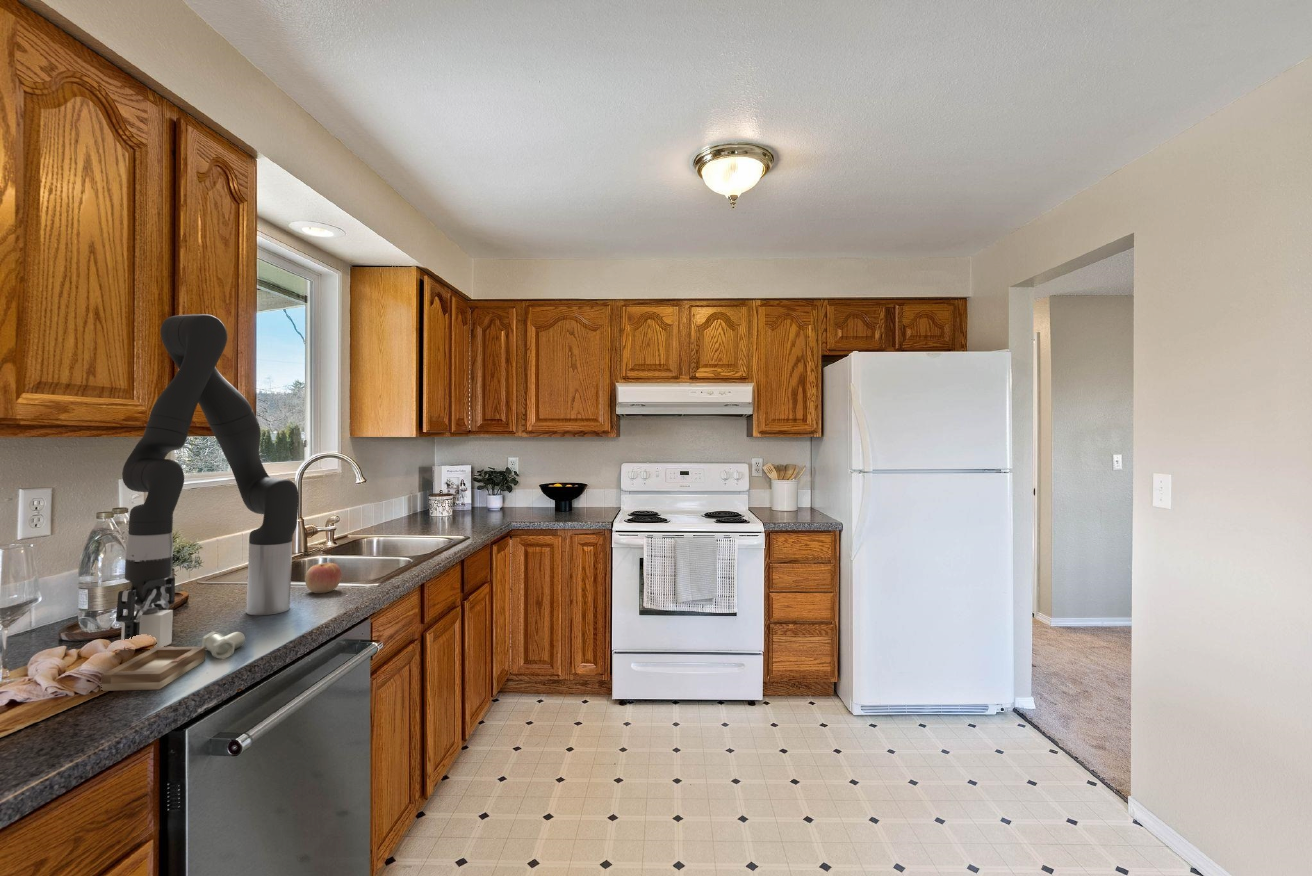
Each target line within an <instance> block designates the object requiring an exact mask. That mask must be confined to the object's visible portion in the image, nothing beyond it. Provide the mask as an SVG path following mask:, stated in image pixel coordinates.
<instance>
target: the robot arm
mask: <svg viewBox="0 0 1312 876" xmlns="http://www.w3.org/2000/svg"><path fill="white" fill-rule="evenodd" d="M160 338H161V341H162V345H163V346H164V348H165V349H166V352H167V353H168V355H169V356H170V358H171V359H172V361H173V362H174V364H175V366H177V368H178V371H177V372H176V374H175V375H174V377H173V379H172V380H171V381H170V382H169V384H168V385H167V386H166V387H165V388H164V390H163V391H162V393H160V395H159V396H158V398H156V401H155V402H154V404H153V406H152V408H151V411H150V414H149V417H148V419H147V423H146V427H145V430H144V434H143V436H142V437H141V438H140V440H139V441H138V442H137V444H136V445H135V447H134V448H133V450H132V452H131V453H130V455H129V456H128V457H127V459H126V460H125V463H124V465H123V467H122V472H121V473H122V474H121V475H122V477H121V478H122V481H123V484H124V486H125V487H126V488H127V489H129V490H130V491H134V492H139V493H147V495H146V498H145V500H144V503H143V504H138V505H135V506H133V507H131V509H130V511H129V517H128V535H127V540H126V546H125V562H124V563H125V564H124V580H125V581H128V582H130V583H131V585H130V589H128V590H119V591H118V593H117V602H116V603H117V604H116V612H115V613H116V614H115V622H116V623H122V622H124V623H125V633H124V640H125V639H129V638H130V637H131V639H132V637H133V636H136V635H139V629H140V622H139V620H140V618H141V616H142V613H143V612H145V611H146V610H147V609H148V607H158V610H170V609H169V608H170V606H171V605H174V604H175V602H176V601H175V600H176V599H175V597H176V593H175V592H176V588H175V587H176V577H175V576H172V574H173V556H174V555H173V554H174V539H173V526H174V524H173V523H174V522H173V521H174V512H175V509H176V507H177V505H178V501H179V499H180V496H181V493H182V490H183V488H184V485H185V484H184V483H185V473H184V470H183V468H182V466H181V465H180V463H179V462H177V461H176V460H173V459H167V458H166V457H167V456H168V454H169V453H170V452H172V451H175V450H180V449H181V448H183V447H184V446H185V443H186V442H187V441H186V440H187V437H188V434H189V431H190V427H191V425H192V421H193V418H194V414H195V411H196V408H197V406H198V405H199V406H200V409H201V411H202V412H203V415H204V417H205V420H206V421H207V423H208V425H209V428H210V430H211V432H212V433H213V435H214V438H215V440H216V441H217V442H218V444H219V446H220V448H221V451H222V453H223V455H224V456H225V459H226V461H227V464H228V465H229V467H230V469H231V471H232V474H233V477H234V480H235V482H236V485H237V488H238V491H239V494H240V497H241V499H242V501H243V504H244V505H245V507H246V508H247V509H248V510H250V512H252V513H255V514H257V515H258V514H259V515H263V520H262V524H261V526H260V527H258V528H256V529H253V530H251V531H250V533H249V535H248V536H249V537H248V559H247V561H248V563H247V584H246V585H247V588H246V592H247V593H246V614H248V615H250V616H267V615H268V616H269V615H277V614H280V613H284V612H287V611H289V610H290V609H291V608H290V606H291V589H292V587H291V584H292V583H291V582H292V578H291V577H292V563H293V562H292V559H293V558H292V557H293V536H294V533H295V532H296V529H297V524H298V515H299V504H300V496H299V494H300V493H299V489H298V486H297V484H295V482H294V481H292V480H290V479H286V478H279V477H278V478H277V477H276V478H275V477H270V476H269V474H268V472H267V471H266V469H265V467H264V465H263V462H262V461H261V457H260V443H261V435H262V434H261V426H260V423H259V421H258V418H257V417H256V414H255V411H254V410H253V407H252V405H251V404H250V403H249V401H248V400H247V398H246V397H245V396H244V395H243V394H242V393H241V392H240V391H239V390H238V389H237V388H236V387H235V386H234V385H232V384H231V383H230V382H229V381H228V380H227V379H226V378H225V377H224V376H223V375H222V374H221V373H220V372H219V369H218V368H217V367H216V366H217V364H218V362H219V360H220V358H221V356H222V355H223V353H224V351H225V348H226V346H227V342H228V331H227V328H226V326H225V325H224V323H223V322H222V321H221V320H220V319H219V318H218V317H216V316H214V315H211V314H207V313H206V314H204V313H201V314H200V313H199V314H179V315H173V316H169V317H167V318H166V319H165V320H164V321H163V322H162V324H161V326H160ZM167 594H168V595H167ZM124 610H125V613H124ZM134 612H136V614H135V616H134Z"/></svg>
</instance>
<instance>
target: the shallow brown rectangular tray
mask: <svg viewBox="0 0 1312 876" xmlns="http://www.w3.org/2000/svg"><path fill="white" fill-rule="evenodd" d="M205 648H206V647H202V646H165V647H154V648H152V649H150V650H145V651H144V652H143V653H141V654H138V655H136V656H135V657H133V658H131V659H129V660H127V661H126V662H123V663H121V664H119V665H118V666H115V667H114V668H112V669H110V670H108V671H106V672H105V673H102V674H101V675H100V690H101V689H102V690H103V691H104V692H105V691H106V692H107V691H143V690H146V691H147V690H160V689H162V688H163V687H165V686H167V685H168V684H170V683H171V682H174V681H175V680H177V679H178V678H179V677H182V676H183V675H184V674H186V673H187V672H189V671H190V670H192V669H193V668H195V667H197V666H198V665H200V664H201V663H203V662H205V661H206V649H205ZM101 685H102V686H101ZM101 687H102V688H101ZM103 691H102V692H103Z"/></svg>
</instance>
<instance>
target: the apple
mask: <svg viewBox="0 0 1312 876" xmlns="http://www.w3.org/2000/svg"><path fill="white" fill-rule="evenodd" d="M305 573H306V574H305V586H306V588H307V589H308V590H309V591H310V592H311V593H314V594H326V593H329V592H332V591H334V590H335V589H336V588H337V587H338V586H339V584H340V582H341V579H342V570H341V567H340V566H339V565H338V564H336V563H335V562H334V563H333V562H323V563H317V564H314V565H312V566H310V568H308V570H307V571H306V572H305Z"/></svg>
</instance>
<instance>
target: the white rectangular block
mask: <svg viewBox="0 0 1312 876" xmlns="http://www.w3.org/2000/svg"><path fill="white" fill-rule="evenodd" d="M135 614H136V612H134V616H135ZM173 615H174V609H167V610H158V607H152V606H148V609H147V610H146V611H145V612H143V613H142V616H141V618H140V620H139V622H140V629H139V635H141V634H147V635H151V636H152V637H155V638H156V640H157V644H156V645H155V646H154V647H156V646H157V647H161V646H165V647H168V646H169V645H171V644H172V638H173ZM124 633H125V623H124V622H121V635H120V637H121V639H120V641H121V640H123V639H124Z"/></svg>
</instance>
